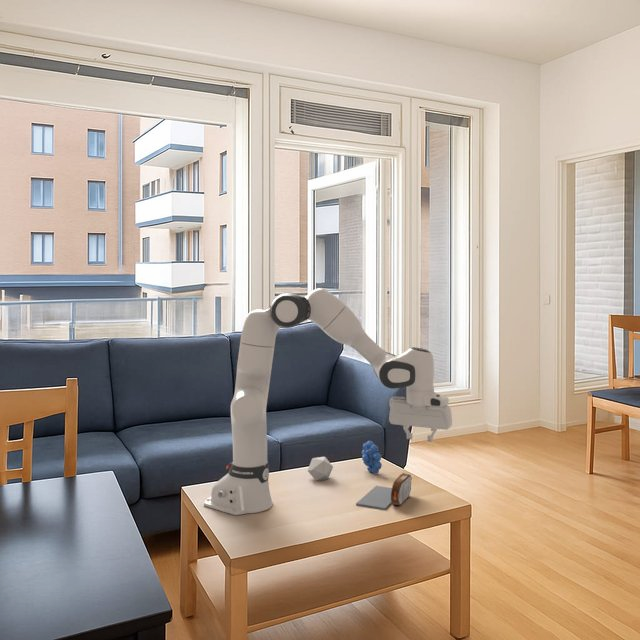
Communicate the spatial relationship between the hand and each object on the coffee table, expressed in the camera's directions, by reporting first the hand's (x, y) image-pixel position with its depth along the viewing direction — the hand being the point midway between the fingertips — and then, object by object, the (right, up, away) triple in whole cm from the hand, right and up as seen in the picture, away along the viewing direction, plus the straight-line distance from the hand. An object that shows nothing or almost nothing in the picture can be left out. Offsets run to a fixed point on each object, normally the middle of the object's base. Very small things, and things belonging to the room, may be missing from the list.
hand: (419, 440), depth 201 cm
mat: (-12, -21, +7) cm, 25 cm away
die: (-32, -20, +28) cm, 47 cm away
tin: (-5, -21, +4) cm, 22 cm away
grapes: (-14, -19, +34) cm, 42 cm away
